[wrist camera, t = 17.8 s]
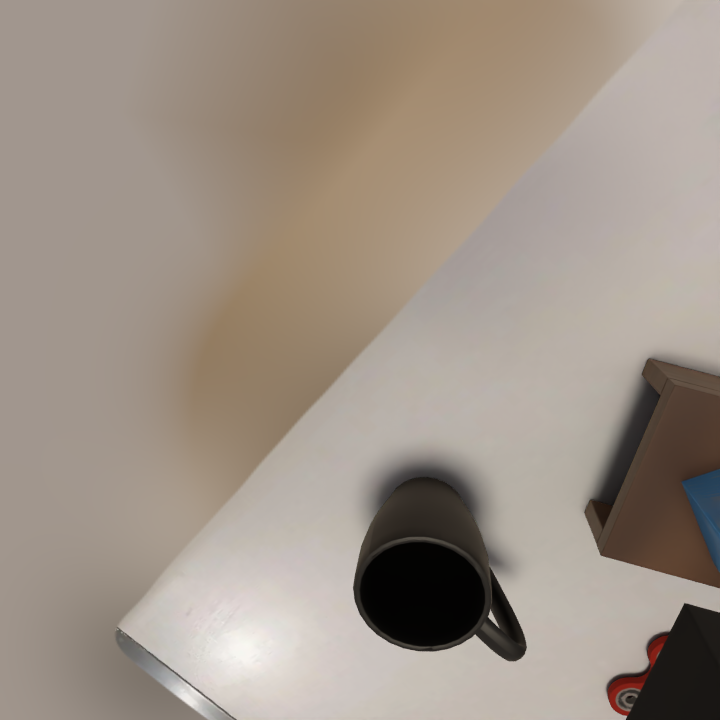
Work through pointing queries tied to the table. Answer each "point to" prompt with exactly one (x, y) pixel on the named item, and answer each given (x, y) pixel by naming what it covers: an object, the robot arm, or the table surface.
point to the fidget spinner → (632, 682)
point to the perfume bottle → (707, 509)
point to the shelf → (666, 480)
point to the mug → (432, 575)
